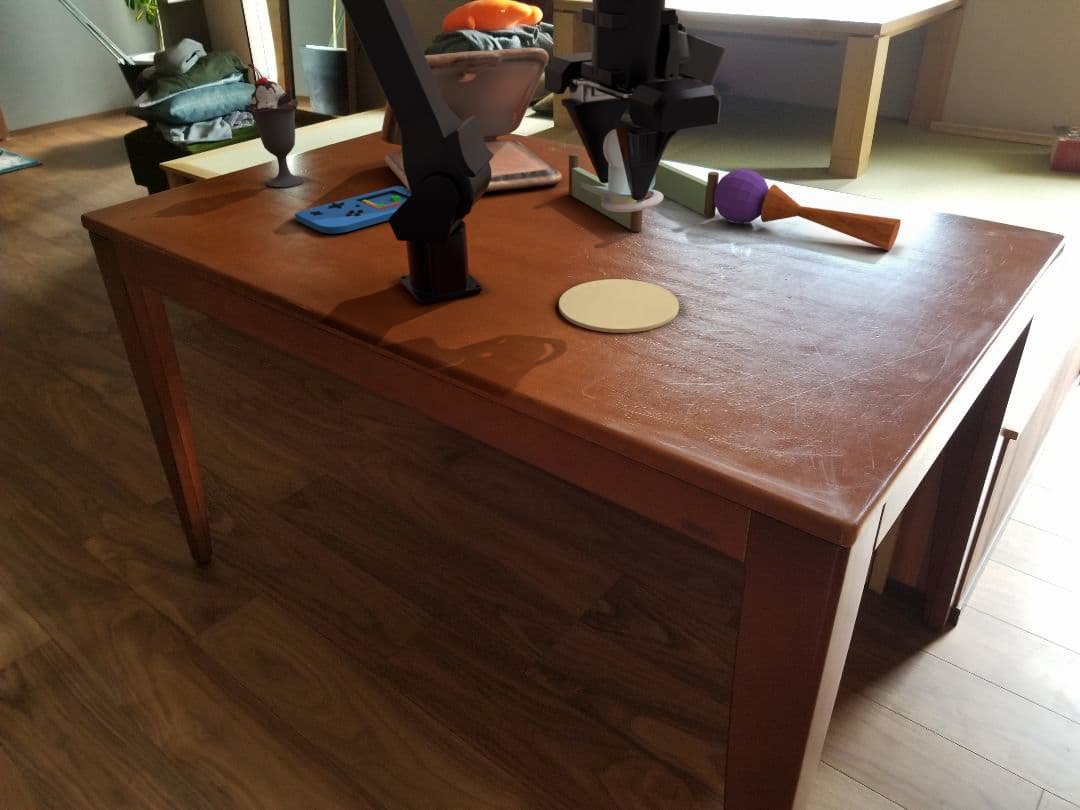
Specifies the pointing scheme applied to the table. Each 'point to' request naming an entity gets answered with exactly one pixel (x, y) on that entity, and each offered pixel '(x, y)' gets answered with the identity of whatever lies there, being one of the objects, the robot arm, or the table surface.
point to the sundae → (275, 125)
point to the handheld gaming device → (354, 211)
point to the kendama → (794, 209)
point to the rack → (667, 182)
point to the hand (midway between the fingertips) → (622, 190)
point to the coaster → (618, 305)
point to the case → (488, 110)
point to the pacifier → (620, 182)
